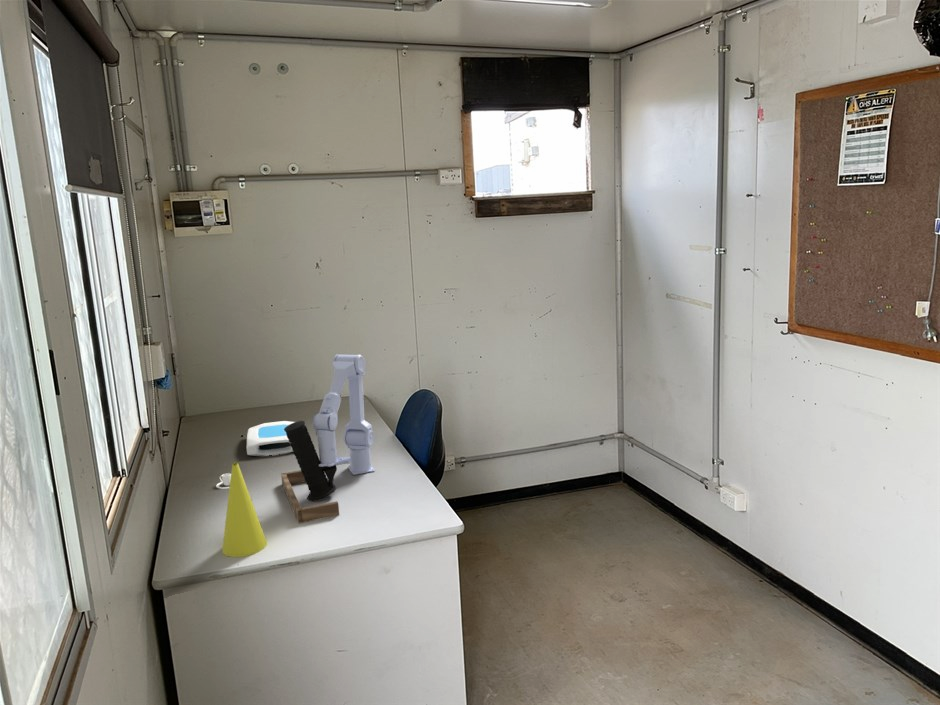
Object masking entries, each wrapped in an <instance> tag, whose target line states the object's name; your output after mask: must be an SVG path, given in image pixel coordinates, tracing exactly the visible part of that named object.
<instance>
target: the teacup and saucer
mask: <svg viewBox="0 0 940 705" xmlns="http://www.w3.org/2000/svg"><path fill="white" fill-rule="evenodd" d="M219 480H220V482H218V483H217V484H216V485H215V487H216V488H217V489H221V490H222V489H229V488H230V480H231V472H228V473H226V472H225V473H223V474H221V475H220V476H219ZM222 484H223V485H224V486H225V487H223V486H220V485H222Z"/></svg>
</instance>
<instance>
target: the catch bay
mask: <svg viewBox="0 0 940 705" xmlns="http://www.w3.org/2000/svg"><path fill="white" fill-rule="evenodd" d="M280 476H281V484H282V486H283V490H284V492H285V494H286V496H287V500H288V502H289V504H290V506H291V509H292V511H293V514H294V516H295V519H296V521H297V524H300V523H304V522H305V523H306V522H311V521H315V520H320V519H325V518H331V517H336V516H339V515H340V509H339V508H340V507H339V502H338V501H332V502H327V503H322V504H316V505H311V506H307V507H306V506H305V507H301V505H300V503H299V500H298V497H297V496H296V493H295V492H294V488H293V487H292V485H294V484H300V483H306V481H305V479H304V476H303V473H302V472H301V469H300V470H294V471H287V472H283V473H282V472H281V474H280Z"/></svg>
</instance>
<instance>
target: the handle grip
mask: <svg viewBox="0 0 940 705" xmlns="http://www.w3.org/2000/svg"><path fill="white" fill-rule="evenodd" d="M293 422H294V423H292V424H290V425H288V426H287V427H285V428H284V431H285V432H286V435H287V438H288V439H289V442H290V443H289V442H288V443H289V446H291V447H292V450H293V455H294V456H295V460H296V461H297V464H298V467H299V468H300V470H301V472H302V473H303V476H304V479H305V481H306V482H305V483H306V485H307V488H308V491H309V493H308V494H307V497H306V498H307V499H306V500H307V501H309V502H317V501H322V500H324V499H325V498H327V497H329V496H331V495H332V494H333V493H334V492H335V491H336V489H337V487H336V485H335V484H333V488H331V487H330V485H329V482H328V478H327V476H326V474H325V472H324V470H323V467H319V464H321V462H320V458H319V454H318V453H317V450H316V448H315V445H314V443H313V440H312V438H311V435H310V433H309V430H308V428H307V425H306V424H305V420H298V421H293Z"/></svg>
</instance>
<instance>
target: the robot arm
mask: <svg viewBox="0 0 940 705" xmlns="http://www.w3.org/2000/svg"><path fill="white" fill-rule="evenodd" d="M332 370H333V377H332V381H331V384H330V390H329V392H328V393H326V394H325V395H324V397H323V400H322V403H321V406H320V409H319V412H318V413H317V414H315V415H314V417H313V421H312V427H313V429H314V433H315V435H316V436H317V443H318V444H317V446H318V458H319V460H320V462H321V464H319V467H323V470H324V472H325V475H326V478H327V479H328V482H329V485H330V487H331V488H333V485H334V483H333V482H334V478H335V475H336V473H337V469H338V467H337V466H340V465H346V464H348V465H347V468H348V471H350V473H351V474H352V475H353V476H355V475H356V476H357V475H361V474H366V473H372V472H375V469H374V467H373V465H372V461H371V460H372V459H371V448H370V447H371V446H372V445H373V443H374V441H375V435H374V431H373V425H372V424H371V423H369V422H368V421H367V420H365V407H364V406H365V405H364V404H365V403H364V384H363V383H364V382H363V380H364V379H363V377H364V376H365V375H366V359H365V358H364V357H363V355H362V354H339V353H338V354H337V353H336V354H335V356H334V357H333V360H332ZM347 380H348V399H349V416H350V417H349V419H350V421H349V422H348V423H347V424H346V425H345V426H344V432H343V442H344V444H345V446H347V448H348V455H349V456H341V457H340V456H339V457H338V454H337V453H338V452H337V442H336V431H335V430H336V429H337V427H338V421H339V420H338V417H339V415H338V412H339V409H340V405H341V403H342V398H341V393H342V392H343V389H344V387H345V384H346V382H347Z"/></svg>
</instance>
